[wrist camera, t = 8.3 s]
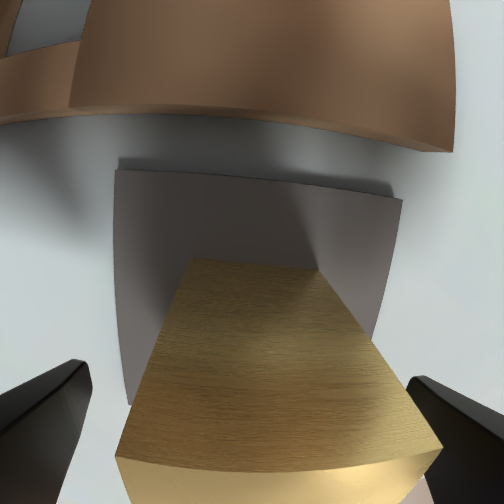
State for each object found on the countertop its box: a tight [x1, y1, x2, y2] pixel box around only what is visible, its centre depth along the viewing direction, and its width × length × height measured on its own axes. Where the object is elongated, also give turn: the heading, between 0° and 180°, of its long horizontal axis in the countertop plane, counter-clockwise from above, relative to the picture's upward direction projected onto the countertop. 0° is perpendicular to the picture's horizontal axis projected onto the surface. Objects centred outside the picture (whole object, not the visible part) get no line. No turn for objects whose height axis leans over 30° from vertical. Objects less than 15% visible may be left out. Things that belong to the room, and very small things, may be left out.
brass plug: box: [115, 258, 443, 504], centre depth 7 cm, size 4×4×8 cm
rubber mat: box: [113, 170, 403, 405], centre depth 12 cm, size 10×10×1 cm
